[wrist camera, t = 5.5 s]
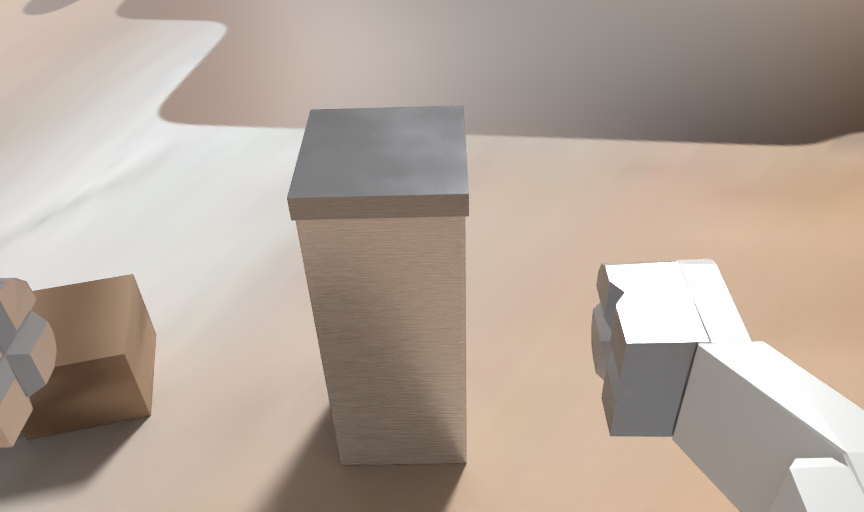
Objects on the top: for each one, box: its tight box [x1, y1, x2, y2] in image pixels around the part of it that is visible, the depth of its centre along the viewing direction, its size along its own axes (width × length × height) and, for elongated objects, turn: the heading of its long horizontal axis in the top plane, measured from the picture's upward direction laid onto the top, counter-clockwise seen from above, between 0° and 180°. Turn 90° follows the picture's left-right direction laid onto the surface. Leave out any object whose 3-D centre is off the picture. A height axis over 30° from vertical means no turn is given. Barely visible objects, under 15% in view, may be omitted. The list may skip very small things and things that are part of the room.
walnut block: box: [22, 274, 156, 440], centre depth 32 cm, size 5×5×4 cm
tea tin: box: [287, 106, 469, 465], centre depth 27 cm, size 5×5×13 cm
